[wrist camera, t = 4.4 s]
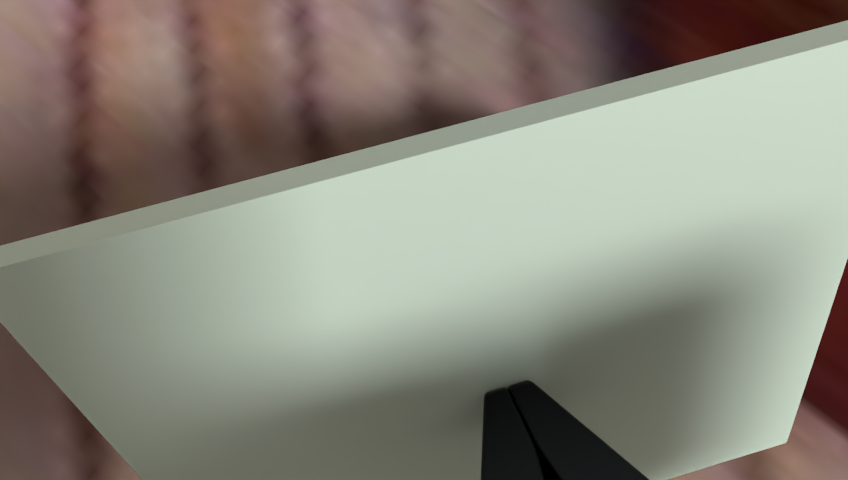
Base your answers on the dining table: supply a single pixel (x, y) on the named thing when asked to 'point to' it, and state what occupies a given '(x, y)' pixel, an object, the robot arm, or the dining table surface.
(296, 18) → the dining table surface
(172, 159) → the dining table surface
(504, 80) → the dining table surface
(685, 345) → the lid
